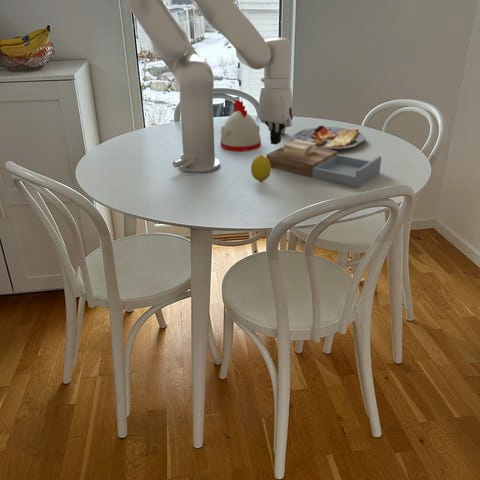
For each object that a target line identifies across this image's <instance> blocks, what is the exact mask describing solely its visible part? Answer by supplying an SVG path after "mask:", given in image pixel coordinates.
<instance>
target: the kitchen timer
mask: <svg viewBox="0 0 480 480" xmlns="http://www.w3.org/2000/svg"><path fill="white" fill-rule="evenodd" d="M232 105H233V108H234V112H233V113H231V114H230V116H228V118H227V119H226V121H225V122H224V124H223V125H221V129H220V135H221V136H220V148H222V149H224V150H225V151H231V152H249V151H253V150H257V149H259V148H260V147H261V146H262V142H261V141H262V139H261V135H260V124H259V125H258V124H257V123H256V121H255V120H254V118H253V117H252V116H251V114H250V113H248V110H246V106H245V105H244V103H243V101H241V100H238V99H237V100H236V99H235V101H234V102H233V104H232Z"/></svg>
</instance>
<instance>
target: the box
mask: <svg viewBox="0 0 480 480" xmlns="http://www.w3.org/2000/svg"><path fill="white" fill-rule="evenodd" d="M381 163H382V156H380V155H379V156H377V157H375V158H374V159H372V160H368V159H367V160H366V159H361V158H357V157H352V156H346V155H341V154H338V153H337V155H335V156H334V157H332V158H330V159H328V160H326V161H324V162H323V163H321V164H319V165H317V166H315V167H314V168H313V174H312V179H315V180H316V179H317V180H321V181H325V182H329V183H332V184H336V185H337V184H338V185H341V186H345V187H351V188H355V189H358V188H360V187H361V186H363V185H365V184H366V183H367V182H368V181H371V179H372V178H374V177H376V176H378V175H379V174H380V172H381V171H380V170H381Z"/></svg>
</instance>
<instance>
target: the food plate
mask: <svg viewBox="0 0 480 480" xmlns="http://www.w3.org/2000/svg"><path fill="white" fill-rule="evenodd" d="M292 139H293V140H292V141H294V140H301V141H306V142H311V143H316V147H318V148H323V149H328V150H334V151H337V150H339V149H340V150H342V149H346V148H347V149H348V148H354V147H356V146H358V145H360V144H361V143H363V142H364V141H365V140H367V139H366V136H365V135H363V134H362V133H360V130H359V129H347V128H343V127H337V126H336V127H335V126H325V125H324V124H323V125H318V126H317V127H311V128H306V129H302V130H300V131H298V132H297V133H295V134H293V135H292Z"/></svg>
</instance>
